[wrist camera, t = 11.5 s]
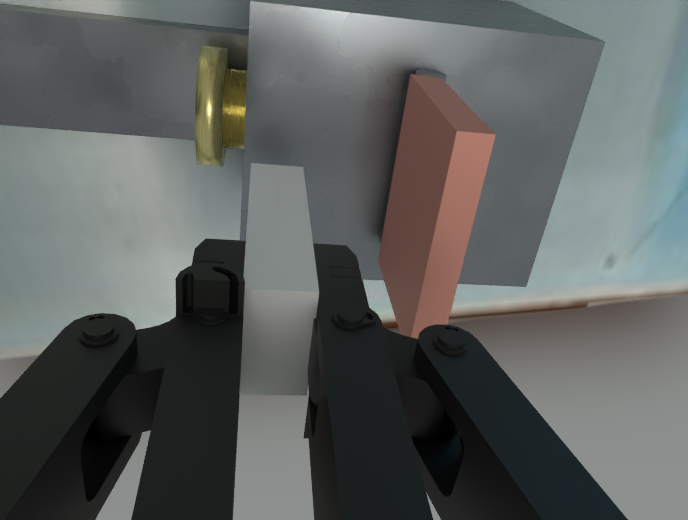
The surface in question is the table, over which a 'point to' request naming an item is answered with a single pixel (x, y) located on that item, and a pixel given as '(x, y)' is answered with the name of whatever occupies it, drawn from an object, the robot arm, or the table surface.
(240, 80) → the lynch pin
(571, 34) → the block
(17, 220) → the table surface
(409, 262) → the salmon pink slab
